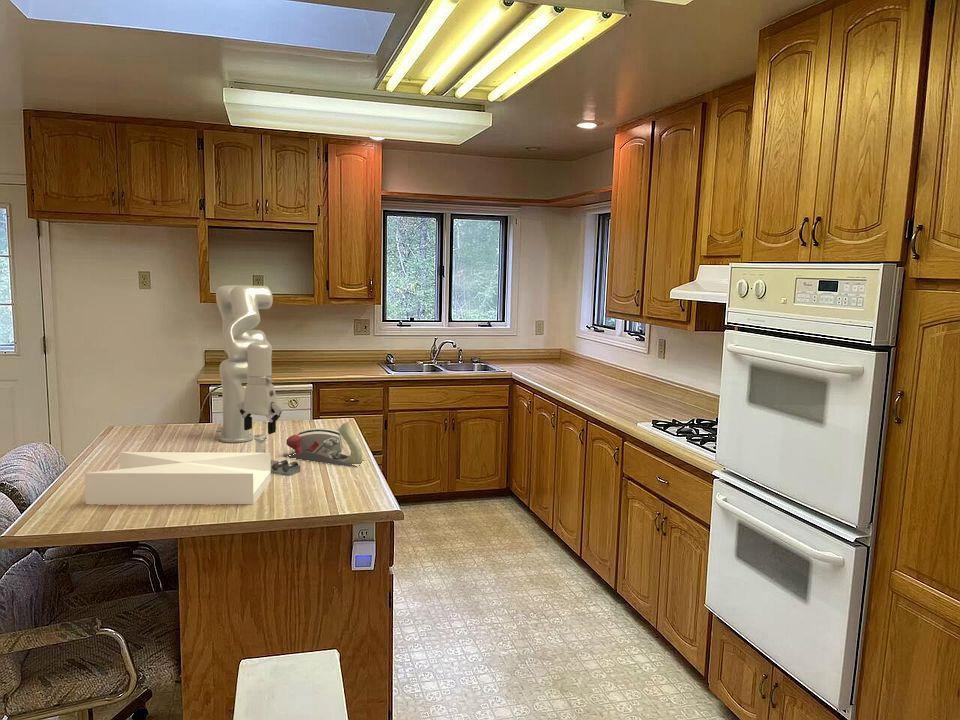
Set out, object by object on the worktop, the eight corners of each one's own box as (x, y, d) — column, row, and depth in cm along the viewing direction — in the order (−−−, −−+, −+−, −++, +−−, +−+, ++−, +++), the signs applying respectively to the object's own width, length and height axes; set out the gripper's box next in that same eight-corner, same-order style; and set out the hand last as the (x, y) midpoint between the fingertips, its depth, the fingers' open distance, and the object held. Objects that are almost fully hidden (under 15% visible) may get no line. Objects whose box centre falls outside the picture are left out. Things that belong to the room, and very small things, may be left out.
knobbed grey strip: (210, 463, 228) (210, 454, 228) (225, 458, 235) (225, 450, 235) (288, 476, 217) (288, 466, 216) (302, 470, 223) (302, 461, 223)
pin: (259, 465, 228) (259, 433, 226) (269, 467, 226) (269, 435, 225) (251, 468, 224) (251, 436, 223) (261, 470, 223) (261, 437, 221)
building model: (270, 482, 212) (270, 452, 211) (253, 506, 190) (253, 473, 189) (121, 482, 208) (119, 452, 206) (85, 506, 186) (84, 472, 185)
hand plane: (358, 468, 229) (359, 425, 227) (281, 458, 239) (281, 416, 237) (369, 463, 235) (369, 421, 233) (293, 453, 246) (293, 413, 244)
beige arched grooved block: (343, 448, 253) (342, 426, 249) (342, 455, 249) (341, 433, 244) (297, 448, 251) (296, 426, 246) (295, 456, 247) (294, 433, 242)
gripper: (288, 381, 222) (288, 432, 224) (246, 376, 228) (246, 425, 231) (273, 385, 215) (273, 437, 217) (230, 379, 221) (231, 430, 224)
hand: (259, 431), depth 224 cm, fingers open, 9 cm apart
